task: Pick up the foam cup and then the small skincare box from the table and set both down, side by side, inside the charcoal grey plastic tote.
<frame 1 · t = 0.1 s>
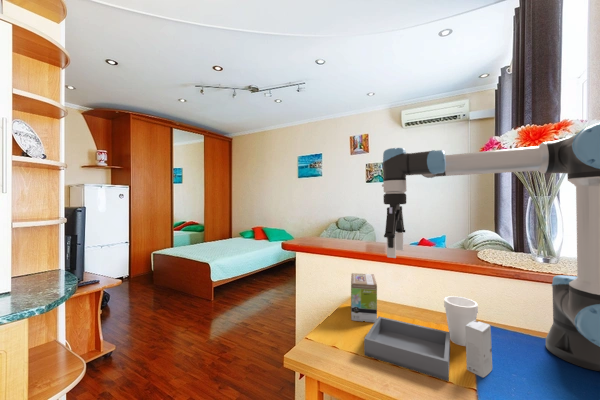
hand: (395, 253, 89), 28 cm above the table, tool pointing down, fingers open, 13 cm apart
foam cup: (461, 341, 84), on the table
tea box: (363, 314, 105), on the table
skincare box: (479, 370, 70), on the table
tote: (408, 351, 78), on the table
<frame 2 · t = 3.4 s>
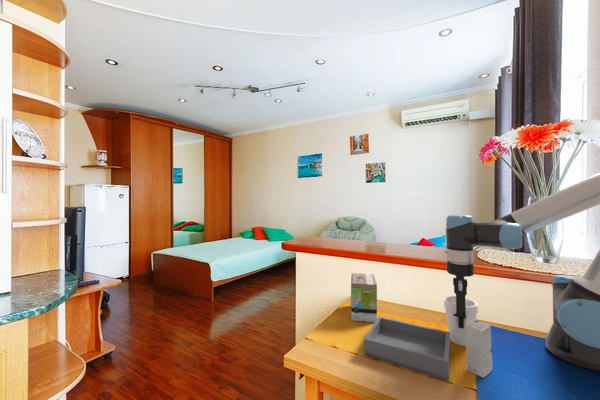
hand: (460, 329, 84), 4 cm above the table, tool pointing down, fingers closed on foam cup, 9 cm apart
foam cup: (461, 341, 84), on the table, touching gripper
everything else where it was.
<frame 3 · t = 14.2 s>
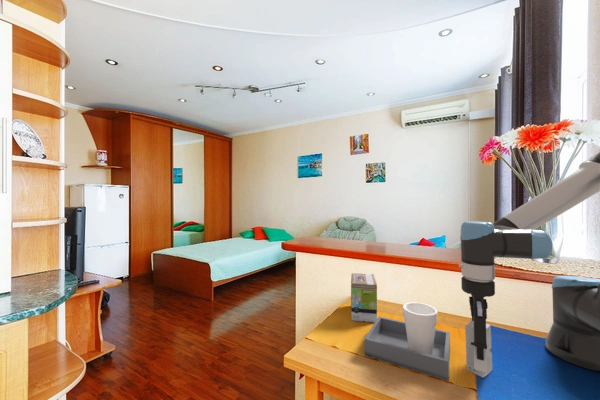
hand: (479, 361, 70), 2 cm above the table, tool pointing down, fingers closed on skincare box, 7 cm apart
foam cup: (420, 352, 76), point 1 cm above the table, touching tote
skincare box: (479, 370, 70), on the table, touching gripper
everything else where it was.
when the fingers open (5 cm above the table, at t = 21.1 s): skincare box drops 2 cm, resting on tote.
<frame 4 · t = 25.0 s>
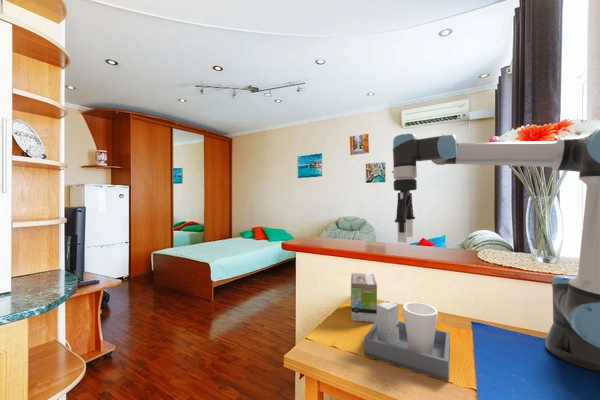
hand: (405, 239, 90), 33 cm above the table, tool pointing down, fingers open, 13 cm apart
skincare box: (388, 342, 82), point 1 cm above the table, touching tote
everything else where it was.
at the end: foam cup inside the target area on the tote (3.5 cm from its centre), point 0.8 cm above the tote's base; skincare box inside the target area on the tote (6.0 cm from its centre), point 0.8 cm above the tote's base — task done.
